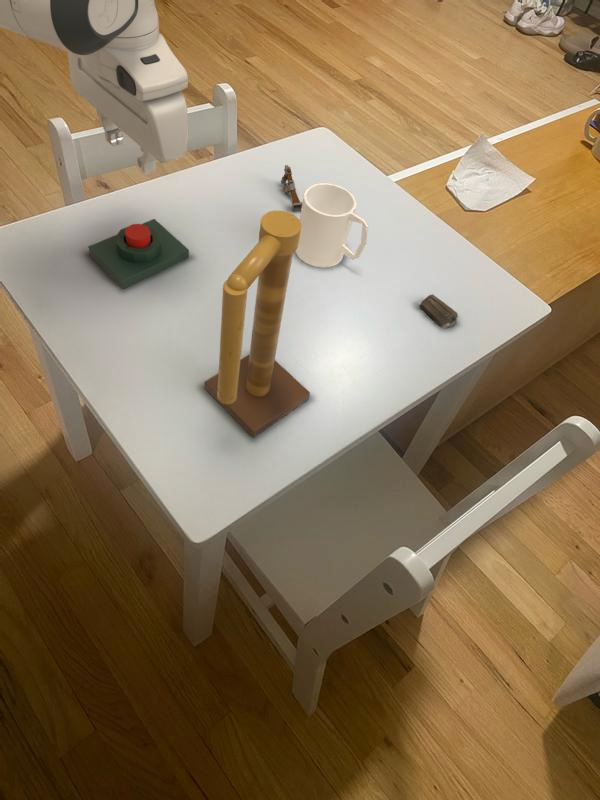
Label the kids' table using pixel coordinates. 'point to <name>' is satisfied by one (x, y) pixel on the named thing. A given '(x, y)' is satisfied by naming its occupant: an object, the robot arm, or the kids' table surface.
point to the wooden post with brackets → (291, 188)
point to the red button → (137, 236)
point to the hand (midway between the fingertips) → (130, 156)
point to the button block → (138, 255)
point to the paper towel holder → (264, 359)
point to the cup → (328, 225)
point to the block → (439, 311)
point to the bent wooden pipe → (274, 239)
